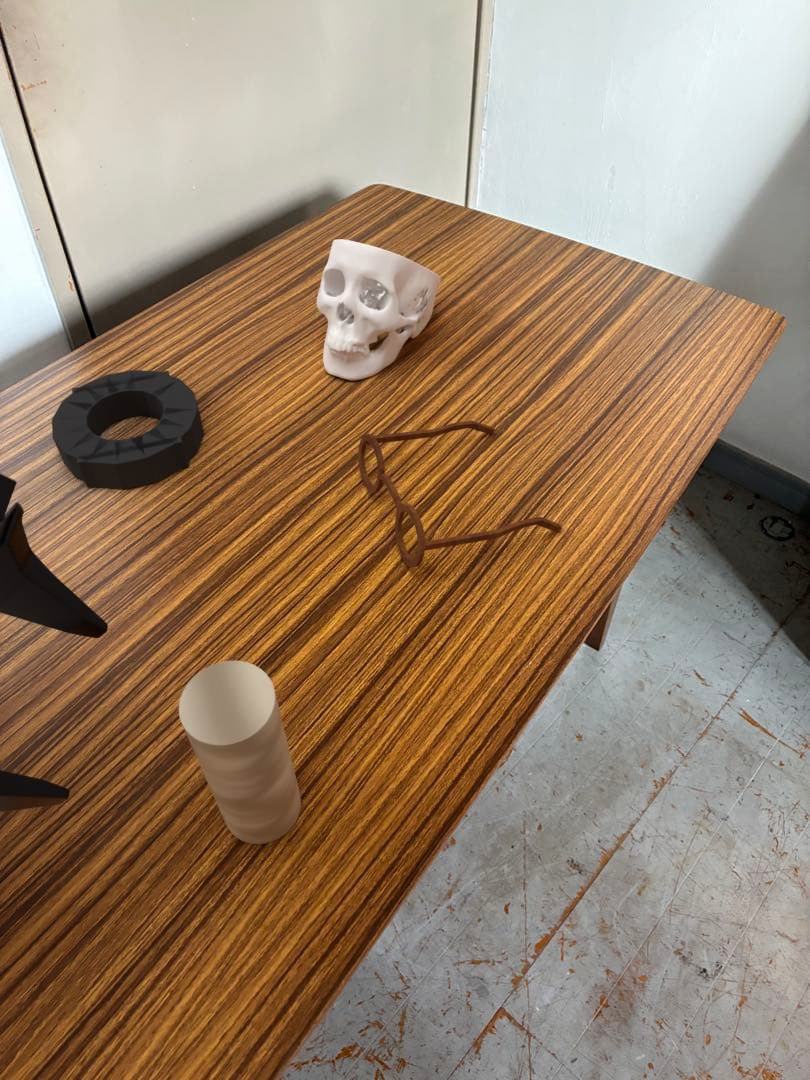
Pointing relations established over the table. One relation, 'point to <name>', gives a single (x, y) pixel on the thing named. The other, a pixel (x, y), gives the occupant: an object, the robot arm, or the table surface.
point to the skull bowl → (371, 306)
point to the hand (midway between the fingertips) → (86, 708)
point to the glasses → (410, 509)
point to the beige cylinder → (242, 749)
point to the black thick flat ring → (134, 456)
